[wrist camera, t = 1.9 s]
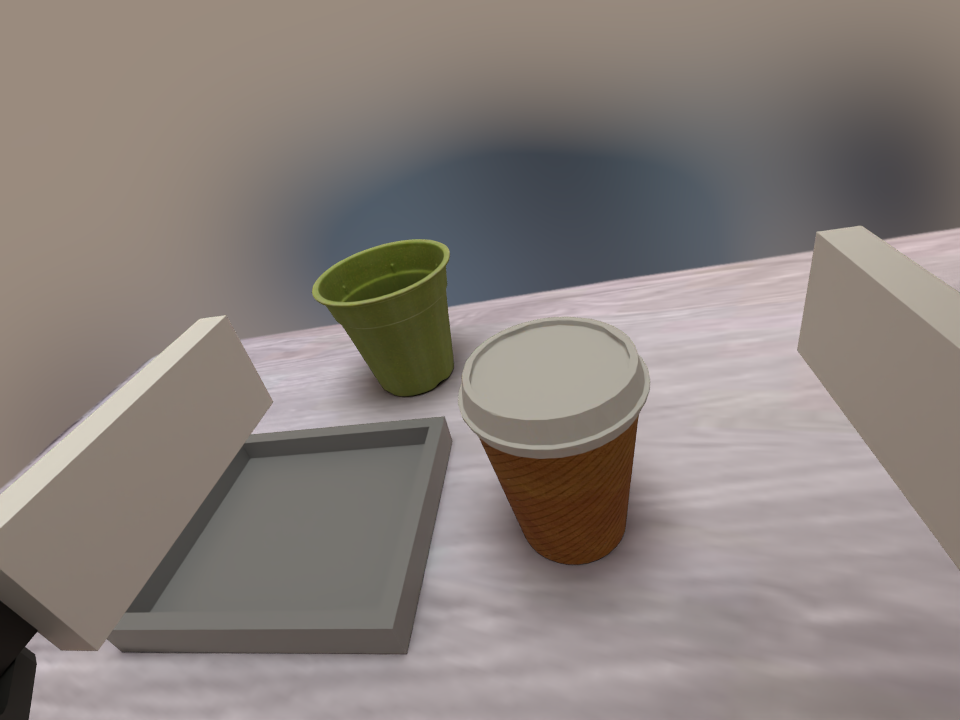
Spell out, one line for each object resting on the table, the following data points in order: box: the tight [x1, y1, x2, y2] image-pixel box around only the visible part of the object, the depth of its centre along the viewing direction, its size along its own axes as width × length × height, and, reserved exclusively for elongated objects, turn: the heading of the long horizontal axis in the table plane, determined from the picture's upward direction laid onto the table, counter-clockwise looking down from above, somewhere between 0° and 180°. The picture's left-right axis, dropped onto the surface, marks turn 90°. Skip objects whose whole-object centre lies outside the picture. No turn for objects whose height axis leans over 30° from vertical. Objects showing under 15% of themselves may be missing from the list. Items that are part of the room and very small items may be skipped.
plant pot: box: [312, 239, 454, 396], centre depth 45 cm, size 12×12×11 cm
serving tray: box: [107, 416, 452, 654], centre depth 34 cm, size 18×16×2 cm
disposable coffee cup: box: [458, 317, 650, 565], centre depth 28 cm, size 10×10×12 cm
